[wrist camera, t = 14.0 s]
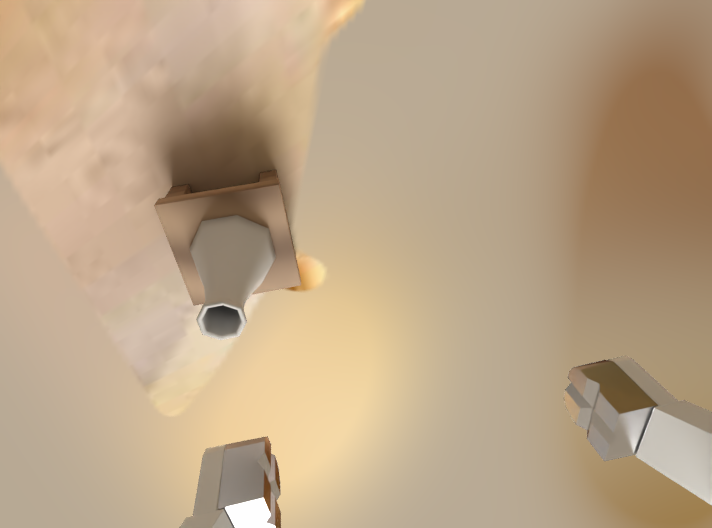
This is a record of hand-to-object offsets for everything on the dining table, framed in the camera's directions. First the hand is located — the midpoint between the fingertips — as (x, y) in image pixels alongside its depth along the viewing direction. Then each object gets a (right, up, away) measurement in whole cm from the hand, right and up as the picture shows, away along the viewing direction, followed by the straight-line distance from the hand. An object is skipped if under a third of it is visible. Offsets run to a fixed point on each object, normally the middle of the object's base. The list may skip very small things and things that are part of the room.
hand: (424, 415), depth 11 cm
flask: (-12, +5, +25) cm, 29 cm away
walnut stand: (-13, +8, +29) cm, 33 cm away
